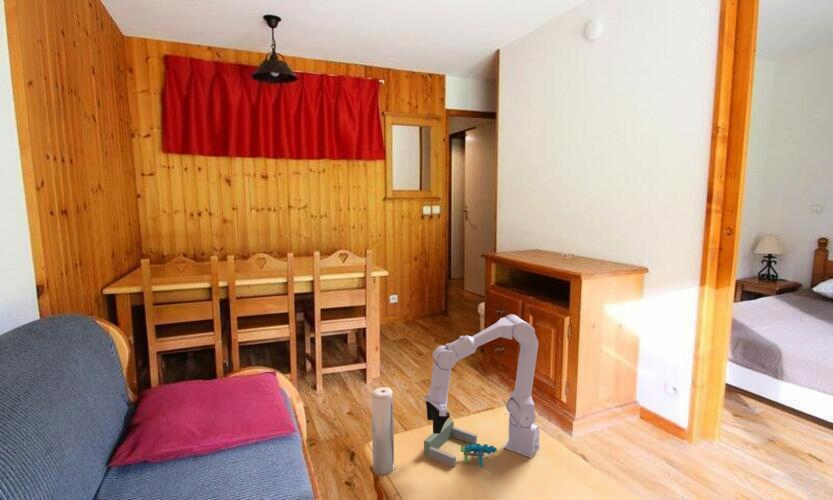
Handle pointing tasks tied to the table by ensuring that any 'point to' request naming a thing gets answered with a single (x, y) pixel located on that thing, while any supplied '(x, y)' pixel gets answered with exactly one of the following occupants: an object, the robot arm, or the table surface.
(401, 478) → the table surface
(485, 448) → the blue toy cog wheel
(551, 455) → the table surface
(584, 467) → the table surface
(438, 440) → the green u-shaped bracket
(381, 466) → the white cylindrical tube
